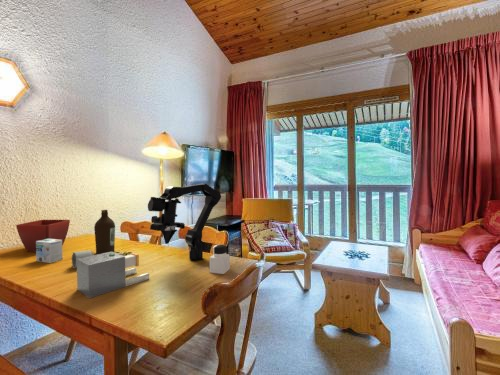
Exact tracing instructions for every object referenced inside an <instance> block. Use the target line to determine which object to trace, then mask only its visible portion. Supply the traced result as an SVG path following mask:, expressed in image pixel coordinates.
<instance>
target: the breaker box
mask: <svg viewBox="0 0 500 375" xmlns="http://www.w3.org/2000/svg"><path fill="white" fill-rule="evenodd" d="M124 256H125V255H122V254H120V253H117V252H115V251H114V252H107V253H102V254H94V255H93V256H88V257H83V258H78V259H77V268H76V280H77V281H76V283H77V284H76V285H77V288H76V289H77V290H78V291H79V292H80V293H82V294H83V295H84V296H85V297H86V298H88V299H92V298H94V297H97V296H100V295H101V296H102V295H104V294H107V293H110V292H113V291H116V290H119V289H122V288H125V287H128V286H131V285H134V284H137V283H141V282H144V281H146V280H149V279H150V273H149V272H146V273H142V274H139V275H137V276H133V277H129V278H127V279H126V277H127V276H130V275H131V276H132V275H134V274H137V267H132V268H128V269H126V268H125V257H124Z"/></svg>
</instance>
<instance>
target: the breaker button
mask: <svg viewBox="0 0 500 375" xmlns="http://www.w3.org/2000/svg"><path fill="white" fill-rule="evenodd" d="M123 256H124V257H125V269H127V268H130V267H135V268H137V267H139V266H140V257H139V253H136V252H130V254H128V255H123Z"/></svg>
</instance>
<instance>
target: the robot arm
mask: <svg viewBox="0 0 500 375" xmlns="http://www.w3.org/2000/svg"><path fill="white" fill-rule="evenodd" d="M198 192H201V193H202V194H203V196H204V197H205V198H204V205H203V208H202V210H201V211H200V214H199V216H198V218H197V220H196V222H195V224H194V226H193V228H192V229H190V228H189V229H187V233H186V234H185V235H184V236H185V237H184V241H185V243H186V244H187V246H188V247H189V250H188V259H189V260H190V261H191V262H193V261H194V262H195V261H203V260H204V257H203V256H204V255H203V254H204V253H203V252H204V251H203V249H205V246H206V243H205V242H203V240H202V238H203V231H204V228H205V226H206V224H207V222H208V220H209V218H210V215H211V213H212V211H213V209H214V207H216V205H218V204H219V202H220V201H221V198H222V195H221V192H220V191H218V190H216V188H215V189H214V188H213V187H212V186H210V185H209V184H208V183H206V182H202V183H199V184H198V183H197V184H193V185H191V184H190V185H187V186H167V187H165V189H164V191H163V193H162V194H161V196H159V197H156V196H151V197H150V199H149V201H148V203H147V210H148V212H156V213H157V212H158V213H159V212H162V213H161V215H160V216H157V215H154V216H151V219H150V222H151V223H152V224H150V227H149V230H151V231H158V232H161V233H162V235H163V240H164V243H165V245H168V244H169V243H170V241H171V240H172V239H173V236H174V235H175V234H176V232H177V231H178V229H176V228H179V229H183V230H184V229H185V227H186V225H185V223H184V222H178V221H176V217H178V214H177V208H178V207H177V206H178V204H182V201H181V200H180V199H179V198H181V197H183V196H185V195H188V194H194V193H198Z"/></svg>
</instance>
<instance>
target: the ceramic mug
mask: <svg viewBox="0 0 500 375" xmlns="http://www.w3.org/2000/svg"><path fill="white" fill-rule="evenodd" d="M93 255H95V253H94V252H93V251H92V250H80V251H74V252H72V254H71V264H72V267H73V269H77V259H78V258H83V257H88V256H93Z"/></svg>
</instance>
